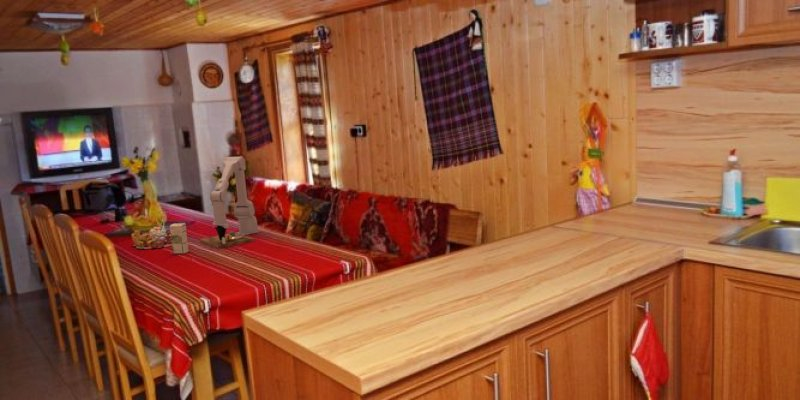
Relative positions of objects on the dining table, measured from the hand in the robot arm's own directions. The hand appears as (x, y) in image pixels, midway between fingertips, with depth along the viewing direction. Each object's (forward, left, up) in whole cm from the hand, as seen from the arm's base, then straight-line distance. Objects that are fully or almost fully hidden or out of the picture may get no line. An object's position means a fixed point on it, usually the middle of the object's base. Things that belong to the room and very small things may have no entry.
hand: (222, 239), depth 318 cm
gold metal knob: (-4, +1, -1) cm, 4 cm away
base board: (-5, -7, -3) cm, 9 cm away
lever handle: (-5, -2, -1) cm, 6 cm away
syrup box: (+21, -3, -3) cm, 21 cm away
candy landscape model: (+22, -32, -3) cm, 39 cm away
